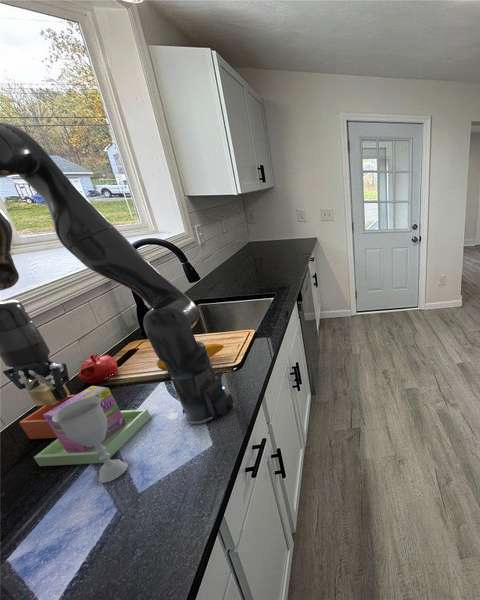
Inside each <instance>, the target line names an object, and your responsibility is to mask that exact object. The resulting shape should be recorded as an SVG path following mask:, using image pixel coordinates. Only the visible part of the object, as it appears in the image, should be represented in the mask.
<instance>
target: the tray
mask: <svg viewBox="0 0 480 600" xmlns="http://www.w3.org/2000/svg"><path fill="white" fill-rule="evenodd" d="M120 412H121V414H122V416H123V418H124V420H125V422H126V423H125V424H124V425H123V426H121V427H120V428H119V429H117V430H116V431H115V432H113V433H112V434H111V435H110V436H108V437H107V438H106V439H104V440H103V441H102V442H101V445H102V446H103V447H106V449H105V452H106V453H110V455H109V459H110V460H111V458H112V457H113V456H114V455H115V454H116V453H117V452H118V451H119V450H120V449H121V448H122V447H123V446H124V445H125V444H126V443H127V442H128V441H130V439H131V438H132V437H133V436H134V435H135V434H136V433H137V432H138V431H139V430H140V429H141V428H142V427H143V426H144V425H145V424H146V423H147V422H148V421H150V419H151V418H152V416H151V413H150V412H149V410H148V409H147V408H143V409H125V410H120ZM99 458H100V454H98V453H96V447H94V448H92V449H91V450H90V451H89V452H79V453H69V452H66V451H65V449H64V447H63V446H62V444H61V443H60V441H59V439H58V438H55V440H53V441H52V442H51V443H50V444H49V445H47V446H46V447H45V448H44V449H42V450H41V451H39V452H38V453H37V454H36V455H34V456H33V459H34V460H35V462H36V464H37V466H38V467H50V466H51V467H52V466H69V465H71V466H72V465H86V464H90V465H91V464H104V461H103V460H99Z"/></svg>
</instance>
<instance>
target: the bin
mask: <svg viewBox="0 0 480 600" xmlns="http://www.w3.org/2000/svg"><path fill="white" fill-rule="evenodd" d="M75 395H76V394H69V395H68V396H67V397H66V398H64V399H63V400H61V401H59V402H57V403H56V404H55V405H48V406H41V407H40V408H39V409H37V410H36V411H34V412H33V413H31V414H30V415H28V416H27V417H25V418H23V419H22V420H21V421H19V422H18V423H19V424H18V425H20V427H21V428H22V429H23V431H24V432H25V434H26V435H27V437H28V438H29V439H30V440H39V439H41V440H42V439H58V438H57V436H56V435H55V433H54V431H53V430H52V428H51V427H50V425H49V423H48V422H47V420H46V419H45V417H44V415H43V414H45V413H47V412H49V411H50V410H52V409H54V408H55V407H57V406H59V405H60V404H62V403H64V402H65V401H67V400H69V399H70V398H72V397H74V396H75Z"/></svg>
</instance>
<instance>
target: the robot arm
mask: <svg viewBox="0 0 480 600" xmlns="http://www.w3.org/2000/svg"><path fill="white" fill-rule="evenodd" d="M16 176H17V177H19V178H20V179H22V180H24V182H26V183H27V185H29V186H30V187H31V188H32V189H33V190H34V191H35V193H36V194H38V195H39V196H40V198H42V200H43V201H44V203H45V204H46V206H47V208H48V211H49V215H50V218H51V222H52V226H53V228H54V232H55V234H56V237H57V239H58V240H59V242H60V244H61V245H62V246H63V247H64V248H65V249H66V250H67V251H69V252H70V254H72V255H73V256H74V257H75V258H76V259H77V260H78V261H79V262H80V263H82V264H83V265H84V266H85V267H86V268H87V269H88V270H90V271H92V272H94V273H95V274H97V275H99V276H101V277H104V278H106V279H107V280H110V281H112V282H114V283H117V284H119V285H120V286H123V287H125V288H128V289H129V290H131V291H132V292H134V293H135V294H137V295H138V297H140V298H141V299H142V300H143V301H144V302H145V303H146V304H147V305H148V306H150V308H151V309H149V311H147V312H146V314H144V316H143V328H144V332H145V334H146V337H147V339H148V341H149V343H150V345H151V347H152V348H153V351H154V353H155V355H156V357H157V358H158V360H159V359H160V360H161V361H163V362H164V364H165V366H166V368H167V370H166V371H167V373H168V376H169V378H170V381H171V383H172V385H173V388H174V391H175V393H176V396H177V397H178V400H179V402H180V405H181V407H182V415H184V416H185V418H186V421H187V423H188V424H191V425H202V424H205V423H206V424H207V423H209V422H210V421H214V420H218V419H219V418H220V416H221V415H226V413H228V412H230V411H231V410H233V409H234V404H233V403H234V399H233V396H232V393H231V392H226V391H225V386H223V383H222V379H221V377H220V376H216V374H215V371H214V368H213V364H212V361H211V357H209V356H208V352H207V349H206V347H205V345H206V344H205V343H204V342H202V341H197V340H196V337H195V334H194V332H193V330H192V329H193V328H194V327H195V325H196V324H197V323H198V322H199V319H200V312H199V311H200V310H199V307H197V304H196V303H195V302H194V301H193V300H192V299H191V298H189V297H188V296H187V295H186V294H185V293H184V292H182V291H181V290H180V289H179V288H178V287H176V286H175V285H174V284H172V282H171V281H169V280H168V279H167V278H166V277H164V276H163V275H162V273H160V272H159V271H158V270H157V268H155V266H154V265H153V264H151V262H150V261H148V259H146V258H145V256H143V255H142V254H141V252H139V250H137V249H136V248H135V246H133V245H132V244H131V242H130V241H129V240H128V239H127V238H126V237H125V236H124V235H123V234H122V233H121V232H120V231H119V230H118V228H116V227H115V225H113V224H112V223H111V222H110V221H109V220H107V219H106V218H105V216H104V215H102V213H101V212H99V211H98V209H97V208H96V207H95V206H94V205H93V204H92V203H91V202H90V201H89V200H88V199H87V198H86V196H84V195H83V193H81V192H80V190H79V189H78V188H77V187H76V186H75V185H74V184H73V182H72V181H71V180H70V178H68V176H66V174H65V172H64V171H63V170H62V169H61V168H60V167H59V166H58V165H57V164H56V162H55V161H54V160H53V158H52V157H51V156H50V155H49V154H48V152H47V151H46V150H45V149H44V148H43V147H42V146H41V145H40V143H39V142H38V141H37V140H36V139H35V138H34V137H33V136H32V135H30V134H29V133H27V132H26V131H25V130H24V129H22V128H20V127H18V126H16V125H14V124H11V123H8V122H3V121H0V178H7V177H16ZM12 243H13V227H12V224H11V222H10V220H9V218H8V217H7V216H6V215H5V213H4V212H3V211H2V210H1V209H0V292H1V291H4V290H5V291H6V290H8V289H10V288H13V287H15V285H16V284H17V283H18V281H19V279H20V274H19V272H18V270H17V266H16V265H15V262H14V259H13V256H12V253H11V251H12ZM50 353H51V350H50V348H49V346H48V345H47V343H46V341H45V339H44V337H43V336H42V334H41V332H40V330H39V329H38V327H37V326H36V324H34V322H33V321H32V319H31V317H30V316H29V314H28V312H27V310H26V308H25V306H24V305H23V304H22V302H21V301H19V300H17V299H3V300H0V359H1V361H2V362H3V363H4V365H5V366H6V367H8V368H6V369H4V370H3V371H2V373H3V375H4V376H5V377H6V378H8V380H10V381H11V382H12V384H14V386H16V387H17V389H19V390H23V389H25V390H26V391H27V392H29V391H30V390H32V389H34V388H35V387H37V386H39V385H40V384H46V385H47V386H48V387H49V388H50V389H51V392H52V393H53V395H54V397H55V398H56V400H57V401H61V400H63V399H64V398H66V397H67V392H66V391H65V389H64V387H63V385H64V384H65V385H66V384H68V383H69V382H70V377H69V372H68V367H67V364H66V363H65V362H61V363H59V364H58V363H54V361H52V360H51V359H50V357H49V356H50ZM51 381H54V382H55V383H54V384H53V383H52V382H51Z"/></svg>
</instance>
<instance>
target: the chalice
mask: <svg viewBox="0 0 480 600" xmlns="http://www.w3.org/2000/svg"><path fill="white" fill-rule="evenodd" d="M100 403H101V398H99V397H90V398H85V399H82V400H79V401H76V402H74V403H72V404H70V405H68V406H66V407H64V408H62V409H61V410H59V411H58V412H57V413H56V414H54V416H53V417H52V421H55V422H57V423H59V424H60V426H61V428H62V429H63V431H64V432H65V434H66V436H67V437H68V438H69V439H71V440H73V441H75V442H76V443H79V444H82V445H84V446H87V447H93V446H95V447H96V453H98V454H100V458H99V460H103V461H104V463H103V464H102V465H101V467H100V468H99V472H98V482H99V483H103V484H105V483H109V482H111V481H115V480H116V479H117V478H119V477H121V476H122V475H123V474H124V473H126V471H127V470H128V467H129V464H128V463H127V462H124V461H123V460H121V459H118V458H117V459H116V458H114V459H111V458H110V459H109V455H110V453H106V452H105V449H106V447H103V446H102V445H101V442H102V441H103V440H104V439H105V435H106V430H107V417H106V415H105V413H104V411H103V410H102V408H101V406H100Z"/></svg>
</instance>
